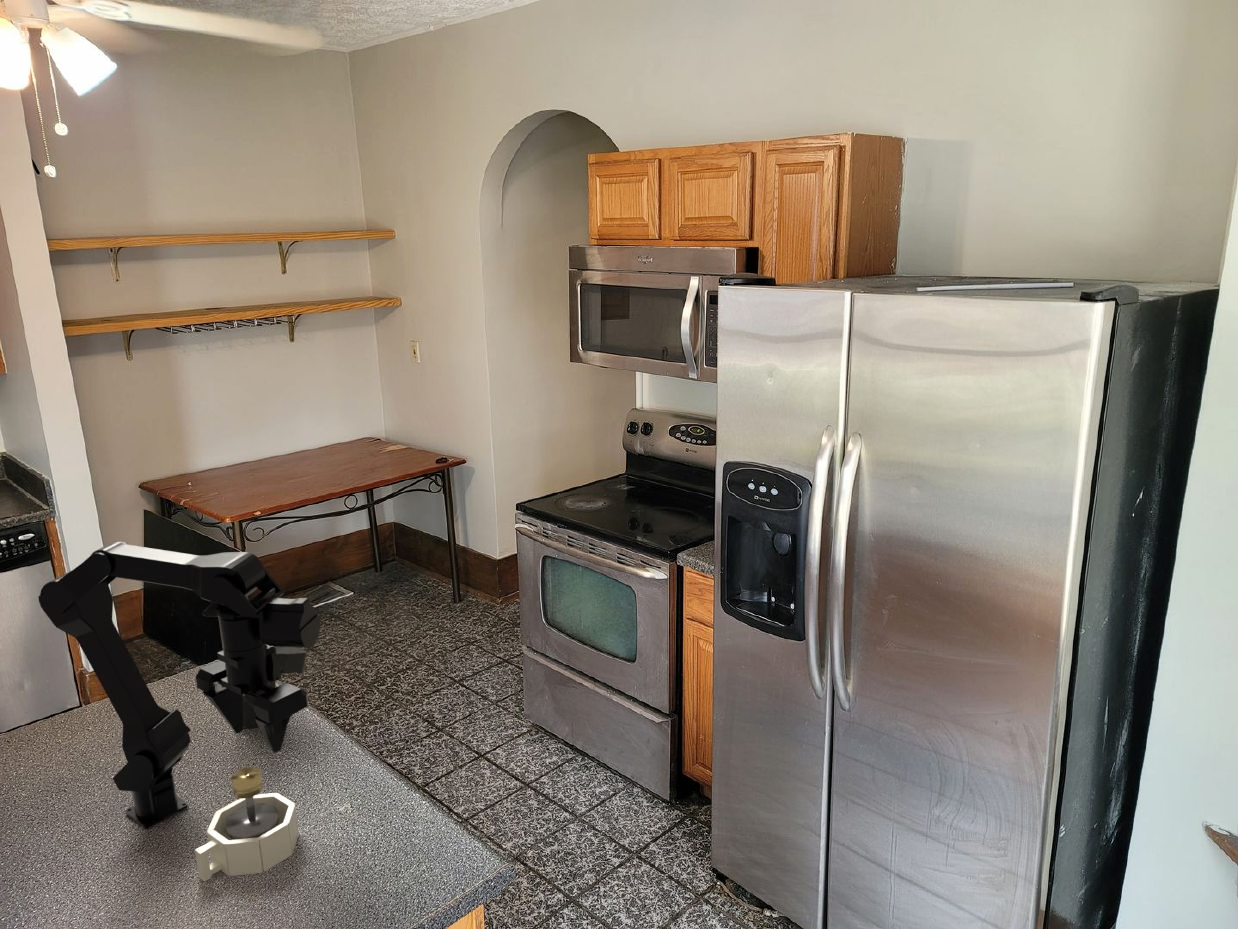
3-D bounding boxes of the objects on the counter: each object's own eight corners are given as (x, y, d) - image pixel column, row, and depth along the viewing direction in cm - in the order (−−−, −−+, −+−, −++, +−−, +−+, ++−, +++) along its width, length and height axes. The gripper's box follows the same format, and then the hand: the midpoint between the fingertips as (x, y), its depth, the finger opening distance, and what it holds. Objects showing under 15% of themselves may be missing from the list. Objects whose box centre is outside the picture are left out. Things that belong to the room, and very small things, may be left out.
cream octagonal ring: (181, 864, 123) (176, 833, 122) (268, 814, 133) (264, 785, 132) (223, 897, 117) (218, 865, 115) (311, 842, 127) (308, 812, 126)
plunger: (215, 827, 124) (208, 778, 122) (261, 802, 130) (255, 755, 128) (243, 847, 120) (236, 796, 118) (289, 820, 126) (283, 771, 124)
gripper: (334, 637, 126) (344, 735, 130) (256, 608, 137) (268, 700, 141) (264, 669, 117) (278, 773, 121) (187, 635, 128) (201, 732, 132)
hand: (257, 741), depth 129 cm, fingers open, 9 cm apart
